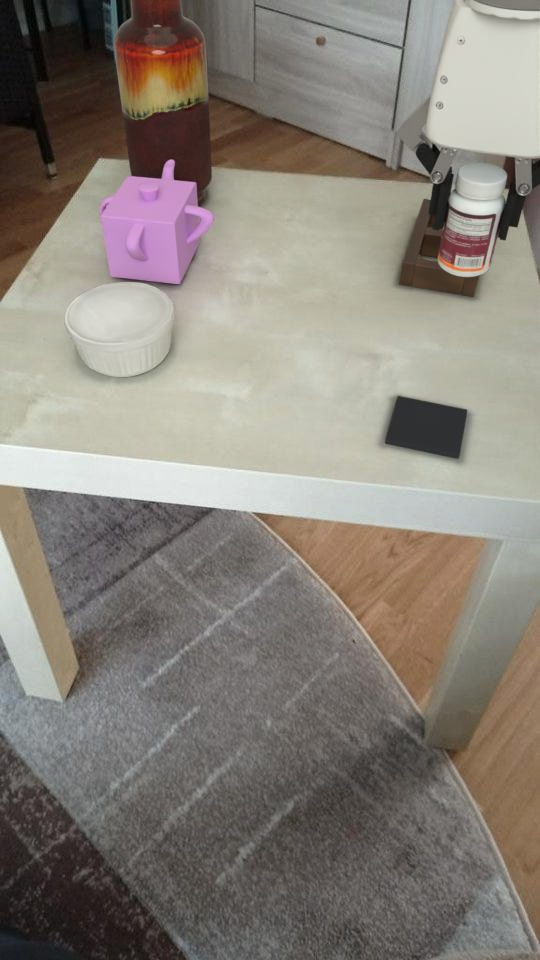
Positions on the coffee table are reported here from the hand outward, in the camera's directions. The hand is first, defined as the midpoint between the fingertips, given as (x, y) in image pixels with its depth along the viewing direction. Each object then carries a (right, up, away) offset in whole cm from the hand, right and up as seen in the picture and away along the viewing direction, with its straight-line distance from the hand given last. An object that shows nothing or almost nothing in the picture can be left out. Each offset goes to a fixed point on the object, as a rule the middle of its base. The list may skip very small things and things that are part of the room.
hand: (471, 225), depth 64 cm
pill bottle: (0, -3, +3) cm, 4 cm away
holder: (+5, +6, +30) cm, 31 cm away
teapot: (-31, +5, +28) cm, 42 cm away
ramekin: (-33, -8, +16) cm, 38 cm away
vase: (-31, +17, +40) cm, 53 cm away
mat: (-2, -17, +8) cm, 19 cm away
